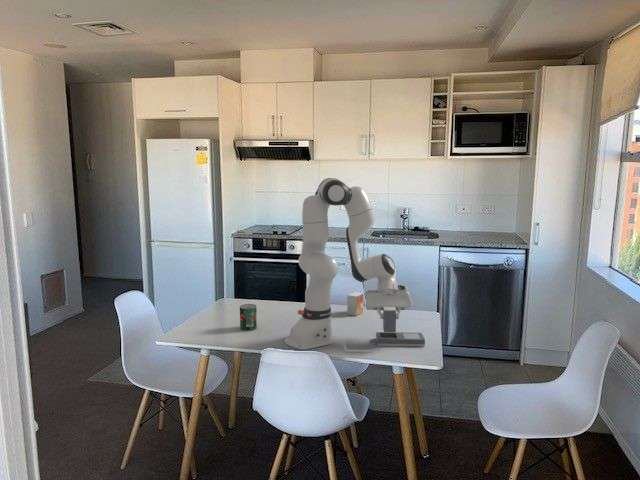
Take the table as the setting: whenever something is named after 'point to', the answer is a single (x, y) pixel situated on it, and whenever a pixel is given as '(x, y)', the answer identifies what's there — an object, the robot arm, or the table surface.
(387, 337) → the gray rectangular base
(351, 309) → the small box
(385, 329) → the plug
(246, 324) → the canned tomato
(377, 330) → the tray
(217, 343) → the table surface
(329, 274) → the robot arm
